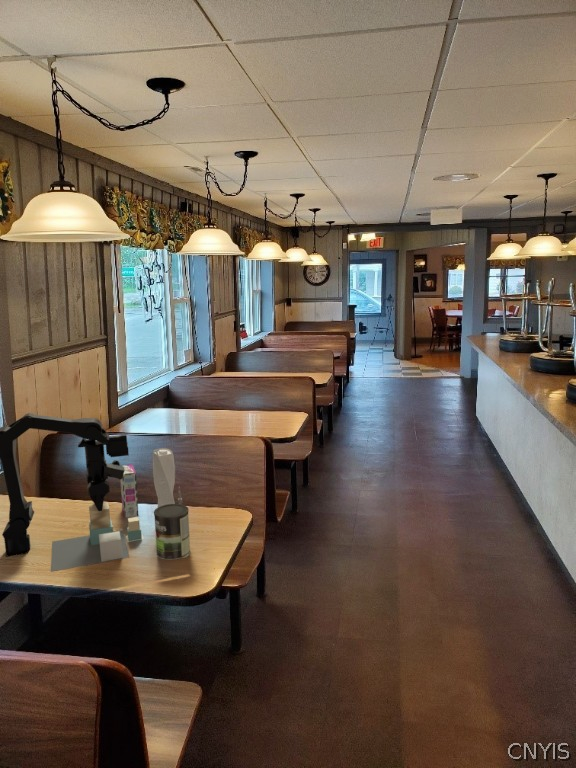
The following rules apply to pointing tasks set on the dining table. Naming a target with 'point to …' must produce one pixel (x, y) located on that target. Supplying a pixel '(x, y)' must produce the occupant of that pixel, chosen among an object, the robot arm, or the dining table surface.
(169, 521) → the coffee can
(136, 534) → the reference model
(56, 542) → the charcoal mat
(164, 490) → the skyscraper
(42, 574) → the dining table surface
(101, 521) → the oak cube
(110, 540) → the grey cube
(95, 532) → the teal block
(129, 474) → the candy bar box
